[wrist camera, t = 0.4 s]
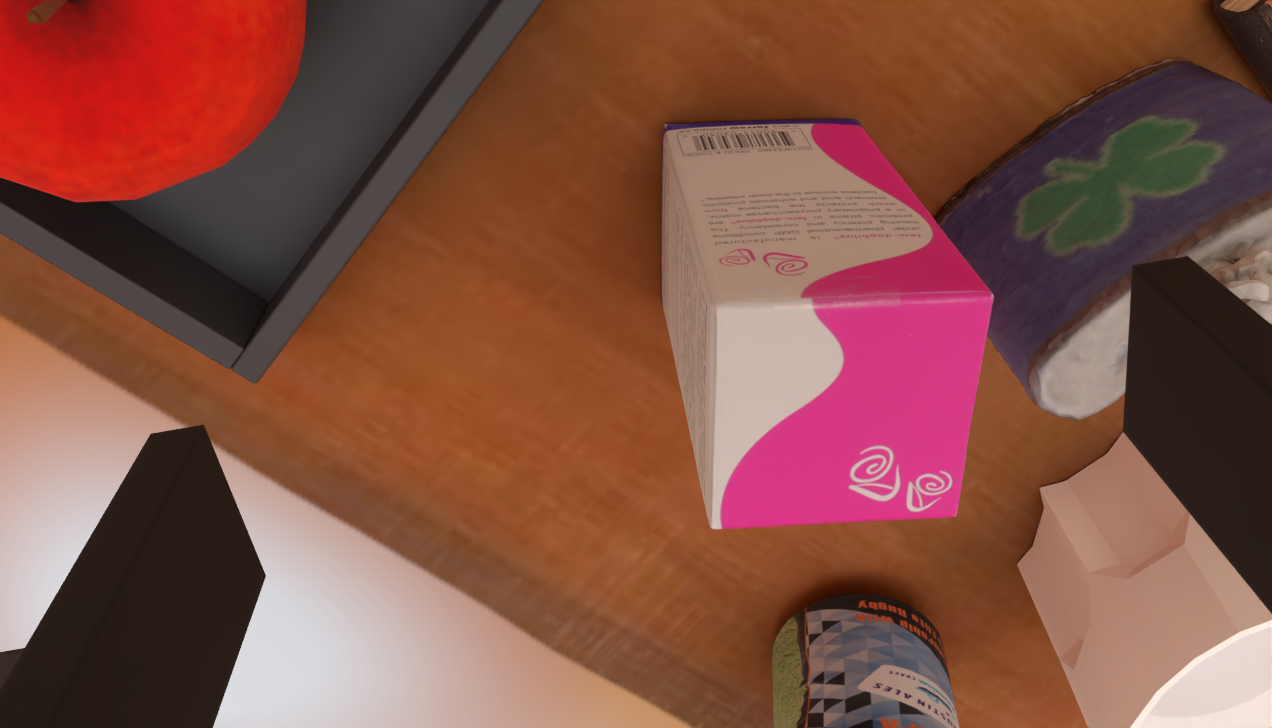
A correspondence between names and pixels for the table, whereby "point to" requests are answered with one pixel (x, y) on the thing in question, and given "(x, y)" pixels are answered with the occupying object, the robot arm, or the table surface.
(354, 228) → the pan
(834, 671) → the beverage can
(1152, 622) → the cup
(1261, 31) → the hardcover book
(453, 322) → the table surface
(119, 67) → the apple
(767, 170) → the supplement box
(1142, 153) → the flask
